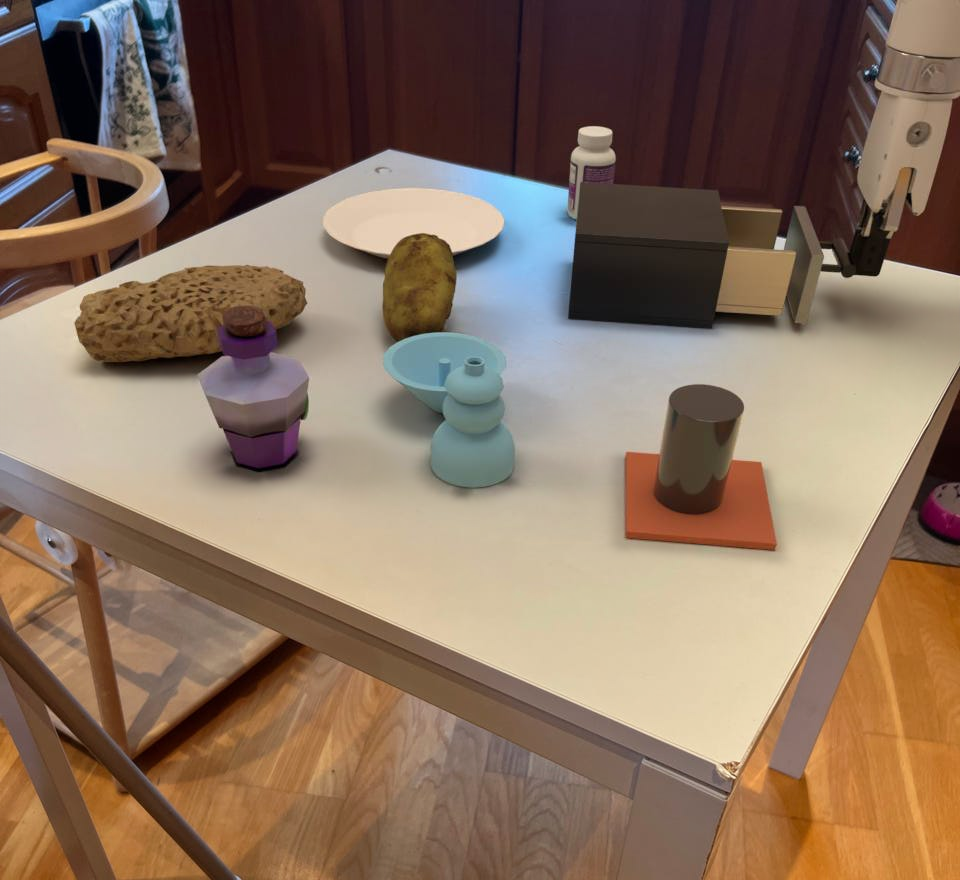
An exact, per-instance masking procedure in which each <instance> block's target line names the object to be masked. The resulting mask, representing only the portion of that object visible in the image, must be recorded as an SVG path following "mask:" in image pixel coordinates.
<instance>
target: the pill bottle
mask: <svg viewBox="0 0 960 880" xmlns="http://www.w3.org/2000/svg"><path fill="white" fill-rule="evenodd" d="M612 143H613V130H612V129H610V128H609V127H604V126H599V125H598V126H595V125H591V126H589V125H588V126H584V127H581V128H579V129H578V134H577V144H578V146H576V147H575V148H574V149H573V151H572V152H571V155H570V166H569V167H570V168H569V178H568V179H569V180H568V181H569V182H568V193H567V194H568V195H567V208H566V209H567V210H566V211H567V215H568V216H569V217H570V218H572V219H573V220H575V221H577V212H578V201H579V191H580V182H586V183H603V184H614V180H615V171H616V170H615V169H616V162H617V161H616V160H617V156H616V153H615V151H614V150H613V149H612V148H611V145H612Z"/></svg>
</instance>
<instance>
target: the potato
mask: <svg viewBox="0 0 960 880" xmlns="http://www.w3.org/2000/svg"><path fill="white" fill-rule="evenodd" d="M457 276H458V275H457V270H456V267H455V263H454V256H453V254H452V251H451V248H450V245H449V244H448V243H447V242H446V241H445V240H443V239H440V238H438V236H436V235H430V234H426V233H420V234H413V235H410V236H407V237H404V238H403V239H401V240H400V241H399V242H398V243H397V244H396V245H395V247H394V248H393V250H392V252H391V254H390V256H389V258H388V259H387V261H386V264H385V270H384V279H383V283H382V318H383V322H384V325H385V329H386V331H387V332H388V334H389V336H390V337H391V339H393V341H395V343H397V342H399V341H401V340H403V339H406V338H409V337H412V336H416V335H421V334H426V333H436V332H445V326H446V323H447V320H449V318H450V317H451V314H452V313H451V312H452V308H453V306H454V303H453V301H454V298H455V293H456V286H457Z"/></svg>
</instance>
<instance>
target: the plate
mask: <svg viewBox="0 0 960 880" xmlns="http://www.w3.org/2000/svg"><path fill="white" fill-rule="evenodd" d="M505 222H506V221H505V219H504V216H503V214H502V212H501V211H500V210H499V209H498V208H497V207H496V206H494V205H493V204H491V203H489V202H487V201H486V200H483V199H482V198H479V197H476V196H472V195H469V194H466V193H462V192H457V191H452V190H446V189H437V188H424V187H403V188H387V189H381V190H375V191H368V192H364V193H361V194H356V195H353V196H350V197H348V198H346V199H342V200H341V201H339V202H337V203H336V204H334V205H332V207H330V208H329V209H327V210H326V213H325V214H324V215H323V217H322V226H323V229H324V230H325V231H326V232H327V234H328V235H329V236H330V237H332V238H333V239H334V240H336V241H337V242H339V243H341V244H343V245H346V246H348V247H351V248H354V249H357V250H359V251H362V252H365V253H367V254H369V255H372V256H375V257H378V258H381V259H387V260H388V258H389V256H390V254H391V252H392V250H393V248H394V247H395V245H396V244H397V243H398V242H399V241H400V240H401V239H403V238H404V237H407V236H410V235H413V234H420V233H426V234H430V235H436V236H438V238H440V239H443V240H445V241H446V242H447V243H448V244H449V245H450V248H451V251H452V254H453V257H454V256H456V255H460V254H462V253H463V254H464V252H466V251H469V250H472V249H474V248H475V249H476V248H479V247H480V246H483V245H486V244H487V243H489V242H491V241H492V240H494V239H496V238H497V237H498V236H499V235H500V233H502V232H503V230H504V226H505Z"/></svg>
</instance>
